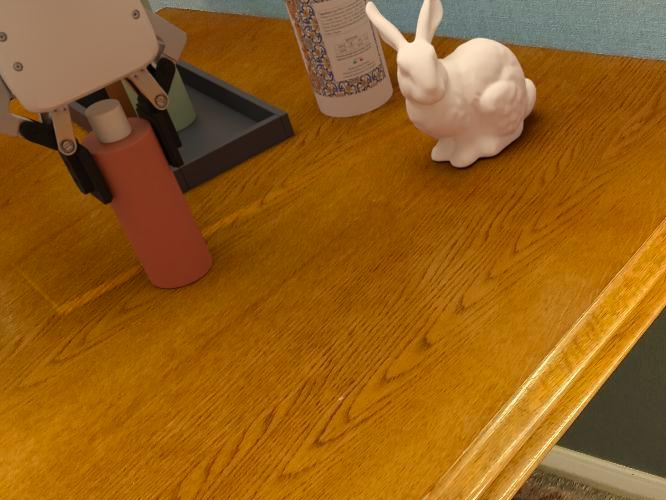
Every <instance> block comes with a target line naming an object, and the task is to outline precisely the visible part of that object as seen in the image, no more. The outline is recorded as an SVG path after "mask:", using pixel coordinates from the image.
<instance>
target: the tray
mask: <svg viewBox="0 0 666 500" xmlns="http://www.w3.org/2000/svg"><path fill="white" fill-rule="evenodd" d="M176 67H177V70H178V72H179V75H180V77H181V79H182V82H183V84H184V86H185V89H186V91H187V94H188V96H189V98H190V101H191V103H192V105H193V108H194V110H195V113H196V119H195V120H194V122H193V123H192V124H190V125H189V126H188V127H186V128H184V129H183V130H180V131H178V132H177V133H178V135H179V138H180V140H181V142H182V147H180V148H178V150H179V153H180V155H181V157H182V159H183V162H184V165H183V166H181V167H179V168H177V167H172V166H171V165H170V167H171V169H172V171H173V174H174V176H175V178H176V180H177V182H178V185H179V187H180V189H181V191H182V193H183V194H185V193H187V192H189V191H191V190H192V189H195V188H197V187H199V186H201V185H202V184H204V183H206V182H208V181H210V180H212V179H214V178H216V177H218V176H220V175H221V174H223V173H226V172H227V171H229V170H232V169H233V168H235V167H237V166H239V165H241V164H242V163H244V162H247V161H248V160H250V159H252V158H254V157H256V156H258V155H260V154H262V153H263V152H265V151H267V150H269V149H271V148H273V147H275V146H277V145H278V144H281V143H283V142H285V141H287V140H288V139H290V138H292V137H294V136H295V135H296V134H295V131H294V128H293V126H292V122H291V119H290V117H289V114H288V112H287V111H285V110H283V109H281V108H279V107H277V106H275V105H273V104H271V103H269V102H267V101H265V100H263V99H261V98H260V97H257V96H255V95H253V94H251V93H249V92H247V91H245V90H243V89H241V88H240V87H237V86H235V85H234V84H231V83H229V82H227V81H225V80H224V79H221V78H219V77H218V76H215V75H213V74H211V73H209V72H207V71H205V70H203V69H201V68H199V67H197V66H195V65H193V64H192V63H189V62H187V61H185V60H184V59H181V58H180V59H179V61H178V62H177V63H176ZM107 99H110V98H109V95H108V93H107V91H106V89H105V87H104V88H102V89H100V90H98V91H95V92H93V93H91V94H89V95H87V96H85V97H82V98H80V99H78V100H76V101H74V102H72V103H69V104H68V105H69V110H70V115H71V120H72V123H74V124H76V125H77V126H79V127H81V128H82V129H83V130H85V131H87V132H88V134H89V133H90V132H91V131H93V129H92V127H91V125H90V123H89V121H88V119H87V117H86V115H85V111H86V109H87V108H88V107H89V106H91V105H92V104H94V103H96V102H99V101H102V100H107Z"/></svg>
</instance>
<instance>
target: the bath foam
mask: <svg viewBox="0 0 666 500" xmlns="http://www.w3.org/2000/svg"><path fill="white" fill-rule="evenodd" d="M283 1H284V4H285V7H286V10H287V14H288V17H289V20H290V23H291V26H292V29H293V32H294V35H295V36H294V37H295V39H296V41H297V45H298V48H299V51H300V54H301V57H302V60H303V63H304V67H305V70H306V72H307V75H308V79H309V83H310V85H311V89H312V91H313V94H314V97H315V100H316V103H317V107H318V109H319V111H320V112H321V113H322V114H324V116H325V115H326V116H327V117H328V116H329V117H332V118H349V117H354V116H355V117H356V116H360V115H364V114H367V113H369V112H371V111H374V110H377V109H379V108H380V107H381V106H383V105H385V104H386V103H387V102H388V101H389V100H390V99H391V97H392V96H393V92H394V89H393V85H392V81H391V77H390V74H389V70H388V65H387V62H386V57H385V54H384V51H383V47H382V43H381V39H380V38H381V37H380V34H379V32H378V29H377V28H376V27H375V26H374V24H373V23H372V22H371V21H370V19H369V17H368V16H367V14H366V11H365V10H366V5H367V3H368V2H371V1H370V0H283Z"/></svg>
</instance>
